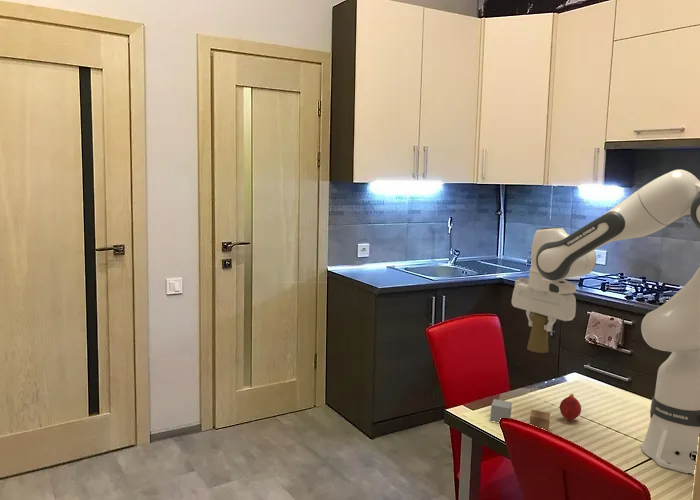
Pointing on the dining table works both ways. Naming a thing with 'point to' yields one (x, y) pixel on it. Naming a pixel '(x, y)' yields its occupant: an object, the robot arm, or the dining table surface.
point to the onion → (570, 408)
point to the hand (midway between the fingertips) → (539, 328)
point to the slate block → (500, 410)
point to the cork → (538, 334)
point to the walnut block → (540, 419)
